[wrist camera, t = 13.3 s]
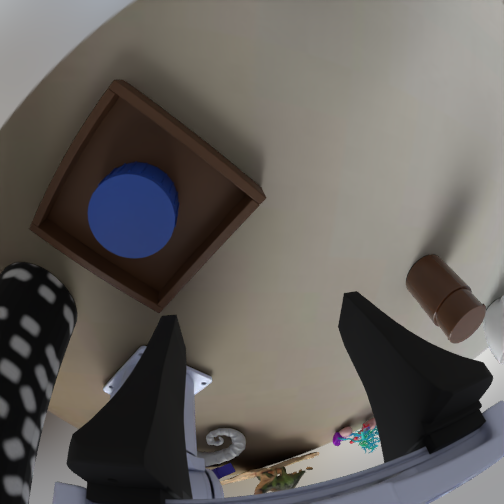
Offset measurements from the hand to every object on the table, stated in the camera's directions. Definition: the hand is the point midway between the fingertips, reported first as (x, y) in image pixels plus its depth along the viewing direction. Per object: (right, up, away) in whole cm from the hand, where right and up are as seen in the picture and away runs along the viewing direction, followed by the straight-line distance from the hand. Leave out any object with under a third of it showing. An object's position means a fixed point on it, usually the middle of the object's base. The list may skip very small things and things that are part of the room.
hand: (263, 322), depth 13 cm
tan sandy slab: (+3, -38, +25) cm, 45 cm away
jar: (+16, +1, +13) cm, 20 cm away
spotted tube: (-19, -1, +9) cm, 21 cm away
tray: (-8, +6, +6) cm, 12 cm away
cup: (+32, -4, +19) cm, 37 cm away
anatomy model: (+16, -21, +24) cm, 36 cm away
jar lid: (-8, +6, +6) cm, 11 cm away
